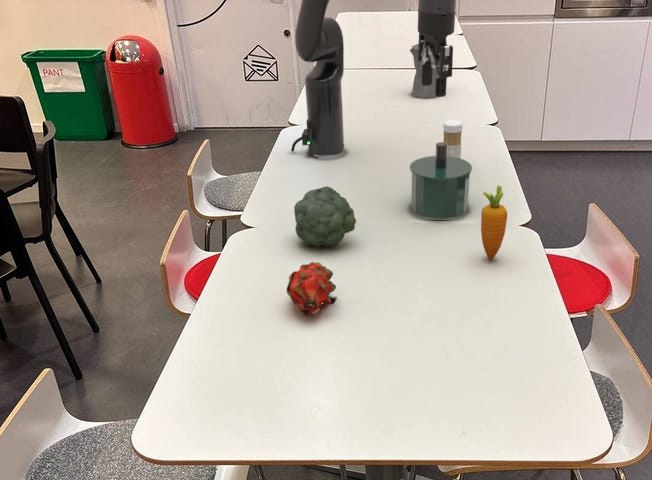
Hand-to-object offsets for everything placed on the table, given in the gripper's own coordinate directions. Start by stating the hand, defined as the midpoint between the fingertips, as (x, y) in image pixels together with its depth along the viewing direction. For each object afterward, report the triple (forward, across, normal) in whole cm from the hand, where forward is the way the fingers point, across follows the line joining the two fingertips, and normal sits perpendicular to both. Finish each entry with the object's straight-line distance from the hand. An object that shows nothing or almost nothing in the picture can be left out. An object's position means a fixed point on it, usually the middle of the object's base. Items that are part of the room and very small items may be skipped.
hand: (433, 90), depth 151 cm
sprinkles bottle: (+25, -10, +10) cm, 28 cm away
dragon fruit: (+24, +40, -37) cm, 59 cm away
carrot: (+24, +33, +1) cm, 41 cm away
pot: (+24, +8, 0) cm, 25 cm away
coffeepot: (+26, -81, +29) cm, 90 cm away
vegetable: (+25, +14, -28) cm, 40 cm away
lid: (+15, +7, 0) cm, 16 cm away
